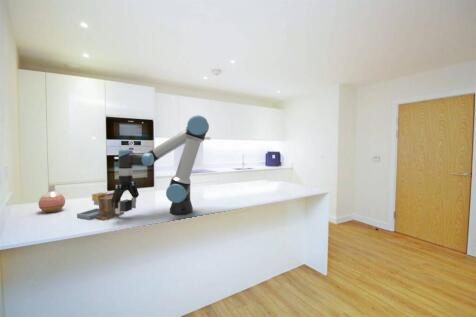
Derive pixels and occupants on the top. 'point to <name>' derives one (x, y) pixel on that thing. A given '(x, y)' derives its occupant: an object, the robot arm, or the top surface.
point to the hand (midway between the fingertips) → (126, 210)
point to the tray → (89, 214)
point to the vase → (51, 200)
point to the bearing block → (106, 208)
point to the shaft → (121, 205)
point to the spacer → (98, 196)
